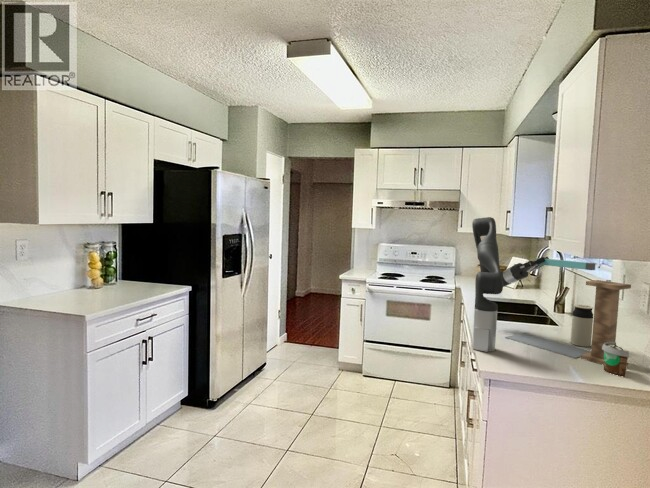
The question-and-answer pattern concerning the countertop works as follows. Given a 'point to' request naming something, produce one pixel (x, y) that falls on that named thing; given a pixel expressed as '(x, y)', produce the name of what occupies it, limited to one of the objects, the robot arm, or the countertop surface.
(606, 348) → the food container
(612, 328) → the walnut stand
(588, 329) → the travel mug
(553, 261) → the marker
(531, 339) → the grey mat
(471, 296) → the countertop surface
